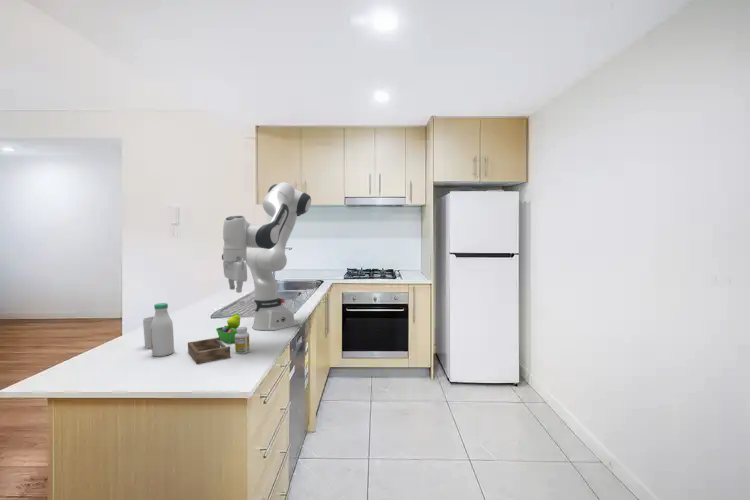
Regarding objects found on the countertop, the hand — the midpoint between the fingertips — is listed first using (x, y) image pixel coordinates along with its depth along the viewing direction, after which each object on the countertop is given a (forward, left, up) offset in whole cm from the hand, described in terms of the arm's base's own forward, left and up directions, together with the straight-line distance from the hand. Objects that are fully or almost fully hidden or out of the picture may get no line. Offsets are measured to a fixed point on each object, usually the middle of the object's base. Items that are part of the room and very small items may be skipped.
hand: (235, 290), depth 156 cm
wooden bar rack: (+11, -2, -24) cm, 27 cm away
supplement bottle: (-1, +3, -25) cm, 25 cm away
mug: (+26, -29, -25) cm, 46 cm away
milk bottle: (+25, -14, -25) cm, 38 cm away
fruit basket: (-2, -17, -25) cm, 30 cm away
